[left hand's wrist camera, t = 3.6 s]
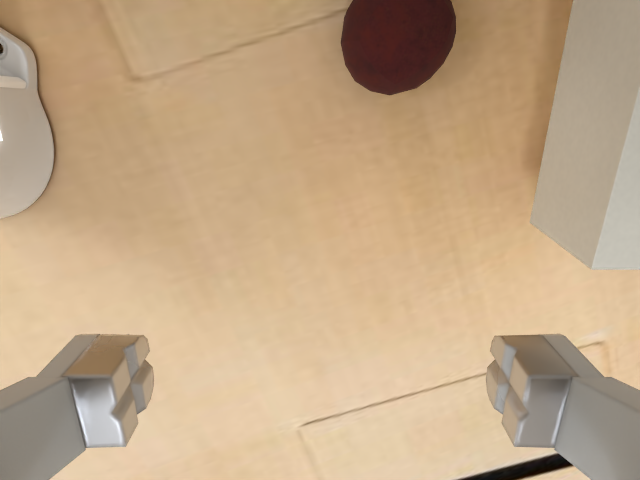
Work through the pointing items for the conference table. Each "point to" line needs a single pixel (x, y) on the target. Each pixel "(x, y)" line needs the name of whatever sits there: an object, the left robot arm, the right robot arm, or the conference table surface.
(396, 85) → the dark red plum
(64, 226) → the conference table surface
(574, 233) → the bar
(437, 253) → the conference table surface
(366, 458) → the conference table surface
